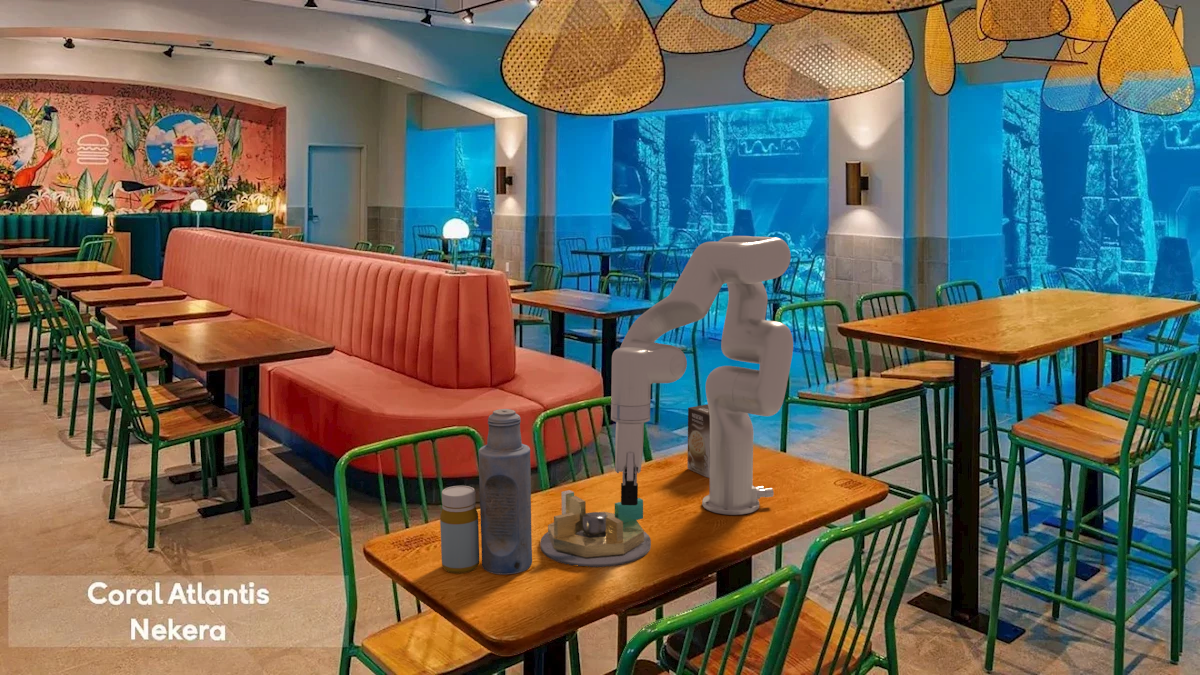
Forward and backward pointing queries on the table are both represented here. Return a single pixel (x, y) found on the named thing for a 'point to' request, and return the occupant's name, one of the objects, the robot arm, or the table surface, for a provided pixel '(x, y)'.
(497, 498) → the bottle
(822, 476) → the table surface
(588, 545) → the wooden castle nut
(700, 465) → the coffee box
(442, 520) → the bottle
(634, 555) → the hub
